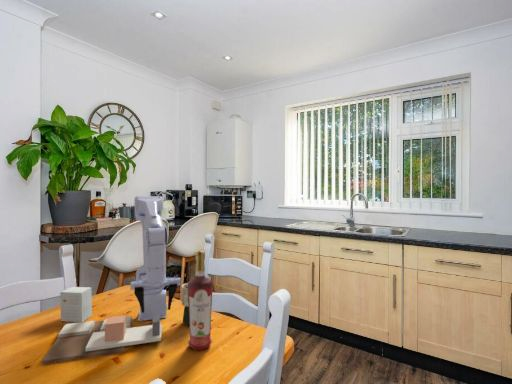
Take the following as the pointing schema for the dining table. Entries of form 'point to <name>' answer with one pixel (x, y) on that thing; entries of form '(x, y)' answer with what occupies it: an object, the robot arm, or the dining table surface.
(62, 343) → the board
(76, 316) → the small box
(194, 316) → the liquor
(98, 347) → the white tray
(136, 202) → the robot arm
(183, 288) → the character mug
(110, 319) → the block
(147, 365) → the dining table surface
